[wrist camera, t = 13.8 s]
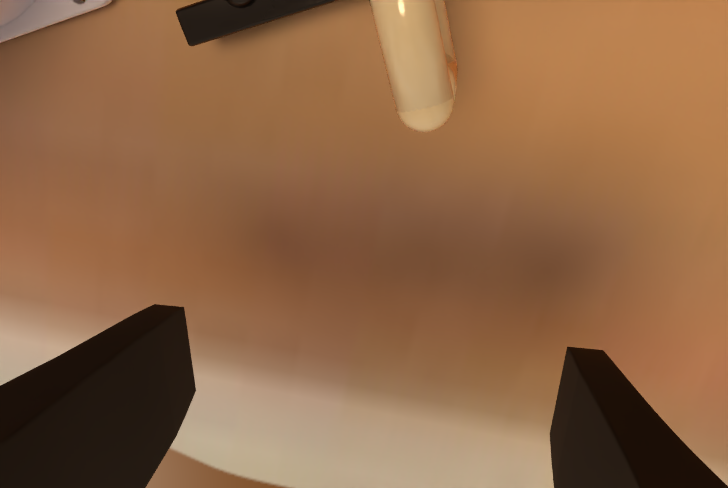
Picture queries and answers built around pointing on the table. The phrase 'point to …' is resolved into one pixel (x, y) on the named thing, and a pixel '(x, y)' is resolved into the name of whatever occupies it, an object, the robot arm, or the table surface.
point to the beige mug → (418, 60)
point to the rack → (235, 16)
